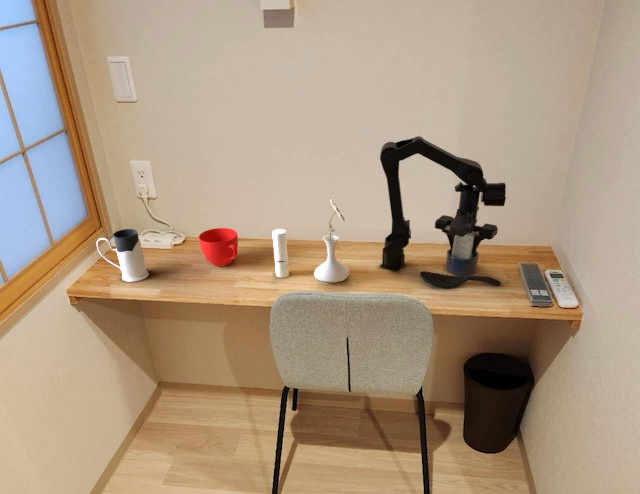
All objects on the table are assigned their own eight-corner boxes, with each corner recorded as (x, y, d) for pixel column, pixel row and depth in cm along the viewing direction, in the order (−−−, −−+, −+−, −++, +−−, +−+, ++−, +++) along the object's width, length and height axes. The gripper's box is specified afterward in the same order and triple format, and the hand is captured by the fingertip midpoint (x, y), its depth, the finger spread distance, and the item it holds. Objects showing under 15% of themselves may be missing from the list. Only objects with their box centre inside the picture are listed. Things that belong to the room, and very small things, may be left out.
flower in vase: (346, 287, 172) (346, 210, 158) (311, 285, 173) (307, 208, 160) (352, 269, 182) (352, 195, 168) (318, 267, 184) (316, 194, 170)
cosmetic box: (470, 266, 180) (479, 232, 173) (466, 271, 177) (474, 236, 170) (453, 260, 183) (460, 226, 175) (448, 265, 179) (455, 231, 172)
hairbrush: (504, 282, 165) (420, 276, 167) (501, 293, 167) (419, 286, 169) (500, 270, 172) (420, 264, 174) (497, 280, 174) (418, 275, 176)
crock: (440, 270, 179) (442, 255, 176) (452, 259, 186) (454, 244, 183) (469, 278, 174) (471, 262, 171) (481, 266, 181) (483, 250, 178)
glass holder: (146, 280, 179) (136, 237, 171) (102, 283, 179) (90, 240, 170) (151, 269, 187) (141, 227, 178) (108, 271, 186) (97, 229, 178)
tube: (283, 270, 183) (279, 227, 174) (291, 274, 180) (288, 231, 172) (273, 274, 180) (269, 231, 172) (281, 278, 178) (278, 235, 169)
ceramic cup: (222, 278, 180) (218, 249, 174) (195, 262, 190) (191, 235, 185) (254, 265, 186) (251, 238, 181) (227, 251, 197) (223, 224, 192)
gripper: (429, 207, 167) (425, 254, 176) (488, 219, 158) (481, 268, 167) (444, 197, 175) (439, 242, 183) (501, 207, 166) (494, 254, 174)
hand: (462, 252), depth 177 cm, fingers closed on cosmetic box, 7 cm apart
